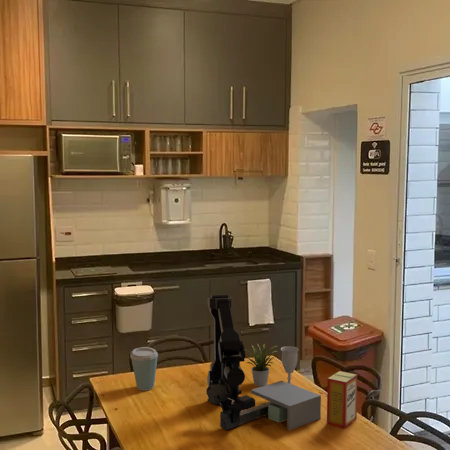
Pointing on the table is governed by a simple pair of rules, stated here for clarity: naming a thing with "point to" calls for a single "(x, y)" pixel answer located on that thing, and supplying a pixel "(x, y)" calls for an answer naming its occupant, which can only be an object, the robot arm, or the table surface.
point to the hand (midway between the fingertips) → (230, 421)
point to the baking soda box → (342, 399)
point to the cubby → (292, 402)
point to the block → (277, 412)
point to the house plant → (261, 366)
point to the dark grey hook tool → (243, 416)
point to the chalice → (289, 359)
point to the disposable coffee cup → (144, 367)
